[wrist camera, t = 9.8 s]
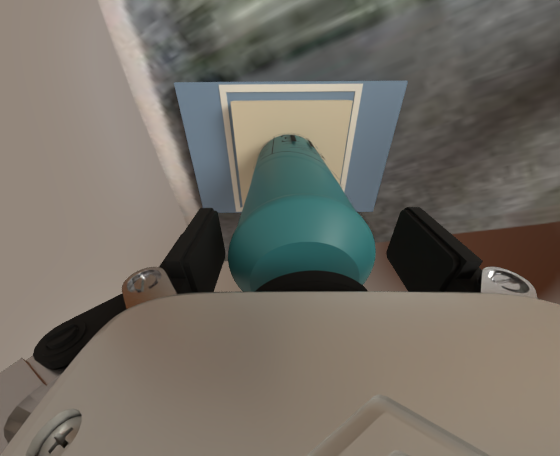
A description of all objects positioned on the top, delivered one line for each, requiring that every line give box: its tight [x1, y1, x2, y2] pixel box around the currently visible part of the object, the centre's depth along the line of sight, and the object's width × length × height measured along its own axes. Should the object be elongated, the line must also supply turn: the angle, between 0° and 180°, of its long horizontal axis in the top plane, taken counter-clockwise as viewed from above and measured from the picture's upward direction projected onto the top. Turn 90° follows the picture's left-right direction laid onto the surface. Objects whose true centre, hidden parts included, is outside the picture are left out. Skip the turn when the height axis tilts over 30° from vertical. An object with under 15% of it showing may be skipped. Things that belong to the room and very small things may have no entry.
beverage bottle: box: [228, 133, 375, 292], centre depth 14 cm, size 6×7×20 cm
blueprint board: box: [174, 81, 408, 213], centre depth 23 cm, size 22×14×4 cm, turn 90°
